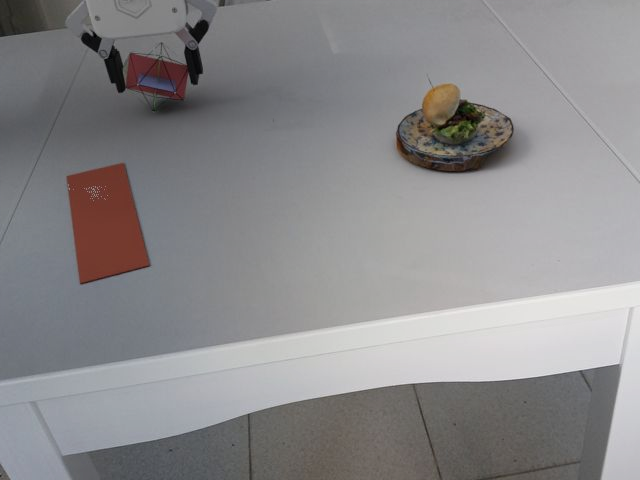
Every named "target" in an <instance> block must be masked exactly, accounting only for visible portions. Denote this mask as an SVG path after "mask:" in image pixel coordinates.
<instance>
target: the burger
mask: <svg viewBox="0 0 640 480" xmlns="http://www.w3.org/2000/svg"><path fill="white" fill-rule="evenodd" d="M426 76H427V79H428V82H429V84H430V85H431V87H432V88H430V90H428V92H427V93H426V94H425V95H424V97H423V100H422V103H421V108H420V109H417V110H414V111H413V112H410V113H409V114H407V115H406V116H404V118H402V120H401V121H400V122H399V123H398V125H397V129H396V132H395V136H396V148H397V150H398V153H399V154H400V155H401V156H402V157H403V158H405V159H406V160H407V161H409V162H411V163H413V164H415V165H416V166H420V167H423V168H426V169H432V170H438V171H448V172H449V171H450V172H461V171H465V170H469V169H471V170H477V169H480V168H482V167H483V165H484V163H485V161H486V159H487V157H488V155H490V154H492V153H494V152H497V151H499V150H501V149H503V148H504V147H505V146H506V144H507V142H508V141H509V140H510V139H511V138H512V137H513V134H514V129H515V128H514V124H513V122H512V119H511V118H510V117H509V116H507V115H506V114H504V113H502V112H501V111H498V109H496V108H493V107H489V106H486V105H485V104H479V103H475V102H470V101H468V99H466V98H465V99H464V98H463V99H461V90H460V89H459V87H458V85H456V84H453V83H442V84H438V85H436V86H433V84H432V82H431V80H430V79H431V78H429V75H428V74H426Z"/></svg>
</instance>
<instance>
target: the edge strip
mask: <svg viewBox="0 0 640 480" xmlns="http://www.w3.org/2000/svg"><path fill="white" fill-rule="evenodd" d="M129 182H130V181H129V178H128V174H127V171H126V167H125V163H124V162H119V163H116V164H111V165H107V166H103V167H99V168H94V169H89V170H85V171H82V172H78V173H73V174H69V175H66V183H67V191H68V198H69V207H70V216H71V223H72V232H73V239H74V247H75V255H76V263H77V272H78V279H79V285H82V284H85V283H90V282H94V281H98V280H101V279H104V278H105V279H106V278H109V277H112V276H113V277H114V276H117V275H120V274H124V273H129V272H132V271H136V270H139V269H143V268H147V267H150V262H149V258H148V254H147V249H146V245H145V242H144V238H143V234H142V230H141V225H140V222H139V219H138V218H139V217H138V214H137V211H136V210H137V209H136V206H135V202H134V198H133V194H132V191H131V186H130V183H129ZM68 184H69V186H68ZM93 186H94V187H93ZM95 186H96V188H95ZM99 186H100V187H99ZM105 186H106V187H105ZM68 187H69V188H70V190H69V189H68ZM89 187H90V188H89ZM91 187H92V189H93V188H94V189H95V191H96V193H95V191H94V190H92V189H91ZM97 187H98V189H99V190H98V189H97ZM101 187H102V188H101ZM84 188H85V189H84ZM86 188H87V190H86ZM88 188H89V189H88ZM73 189H74V190H73ZM104 189H105V190H104ZM87 191H88V192H87ZM89 191H90V193H89ZM91 191H92V193H91ZM93 191H94V192H93ZM97 191H98V193H97ZM99 191H100V192H99ZM93 193H94V194H95V196H96V194H97V196H98V197H97V196H96V197H95V196H94V194H93ZM92 194H93V195H92ZM98 194H99V195H98ZM107 195H108V196H107ZM91 196H92V197H91ZM93 196H94V197H93ZM101 196H102V197H101ZM90 198H91V199H90ZM92 198H93V199H92ZM98 198H99V199H98ZM104 198H105V199H106V200H105V199H104ZM93 200H94V201H93Z"/></svg>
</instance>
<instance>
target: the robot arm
mask: <svg viewBox="0 0 640 480" xmlns="http://www.w3.org/2000/svg"><path fill="white" fill-rule="evenodd" d="M189 5H190V6H192V7H194V8H195V9H198V10H200V12H201V14H200V17H199V19H198V21H197V22H196V23H195V25H194V26H193V25H192V24H191V22H190V21H188V19H187V18H188V14H189ZM217 9H218V3H217V1H215V0H82V1H81V2H80V3H79V4H78V5H77V7H76V8H74V10H72V12H70V14H69V15H67V18H66V20H65V21H64V25H65V26H66V28H67V29H68V30H69V31H71V33H72V34H74V35H75V36H76V37H77V38H79V39H80V41H81V43H82V44H83V45H84V46H86V47H88V48H89V49H90V50H92V51H93V52H94V53H96V54H97V56H98V57H99V58H100V59H102V60H103V62H104V65H105V68H106V72H107V75H108V79H109V82H110V83H111V84H115V87H116V91H117V93H118V94H123V93H124V92H125V91H126V90H127V88H125V87H126V86H125V80H124V75H123V70H122V69H123V66H124V63H123V59H122V56H121V53H120V50H118V48H116V47H115V45H114V44H115V41H116V40H117V41H118V40H128V39H136V38H146V37H157V36H163V35H171V34H175V35H176V36H177V38H178V39H180V41H182V43H183V44H184V51H183V55H184V59H185V65H187V68H188V77H189V81H190V85H193V86H198V85H199V80H200V75H203V74H204V66H203V61H202V57H201V52H200V48H199V44H200V43H201V41H202V40H203V38H204V37H205V36H206V34H207V33H208V31H209V29H210V26H211V25H212V22H213V20H214V17H215V15H216V13H217ZM88 16H89V19H90V22H91V26H92V29H93V30H92V29H90V28H89V27H88V26H87V25H86V24H85V22H84V20H85V19H87V17H88Z"/></svg>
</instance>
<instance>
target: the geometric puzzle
mask: <svg viewBox="0 0 640 480" xmlns="http://www.w3.org/2000/svg"><path fill="white" fill-rule="evenodd" d="M159 46H160V51H159V54H156V56H158V58H155V57H149V56H153V54H152V51H150V52H149V53H143V55H142V54H140V53H138V52H128V55H127V58H126V60H125V61H124V63H123V69H122V70H123V75H124V80H125V86H126V87H125V88H126V90H129V91H133V92H137V93H140V94H142V95H143V97H144V98H145V100H146V102H147V103H148V105H149V107H148V105H146V106H147V108H150V110H151V111H152V113H155V112H156V111H158V110H159V109H160V110H162V109H165V108H166V106H164V107H161V106H162V105H164V104H165V103H166V102H167V101H168V100H173V99H174V100H175V101H177V102H176V104H178V103H181V102H182V101H185V96H186V91H187V84H188V77H189V73H188V68H187V64H186V63H185V62H184V60H182V59H181V60H182V62H184V63H185V64H184V63H182V62H180V61H177V60H175V59H172V58H170V55H169V53H168V52H167V49H169V47H168V46H166V45H165V44H164V43H163V41H160V42H159V43H158V44H157V46H156V48H158V47H159ZM165 47H166V48H167V49H166V48H165ZM163 49H164V50H165V53H166V54H167V56H168V57H167V56H164V55H162V52H163V51H162V50H163ZM173 54H175V56H177V55H176V54H177V53H174V52H173ZM163 58H164V59H168V60H170V61H168V60H164V59H163ZM131 93H132V92H131ZM147 93H148V94H147ZM132 94H133V95H134V93H132ZM145 95H146V96H149V97H152V98H153V107H152V105H151V104H150V102H149V101H148V99H147V97H146V96H145ZM160 96H161V97H160ZM163 97H164V101H163V102H162V103H161V104H160V105H159V106H158V107H157V108H155V103H156V99H163ZM138 99H139V98H138ZM165 99H166V100H165ZM139 101H141V102H142V100H141V99H139ZM173 105H174V103H172V104H170V105H168V107H170V106H173ZM160 107H161V108H160Z"/></svg>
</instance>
